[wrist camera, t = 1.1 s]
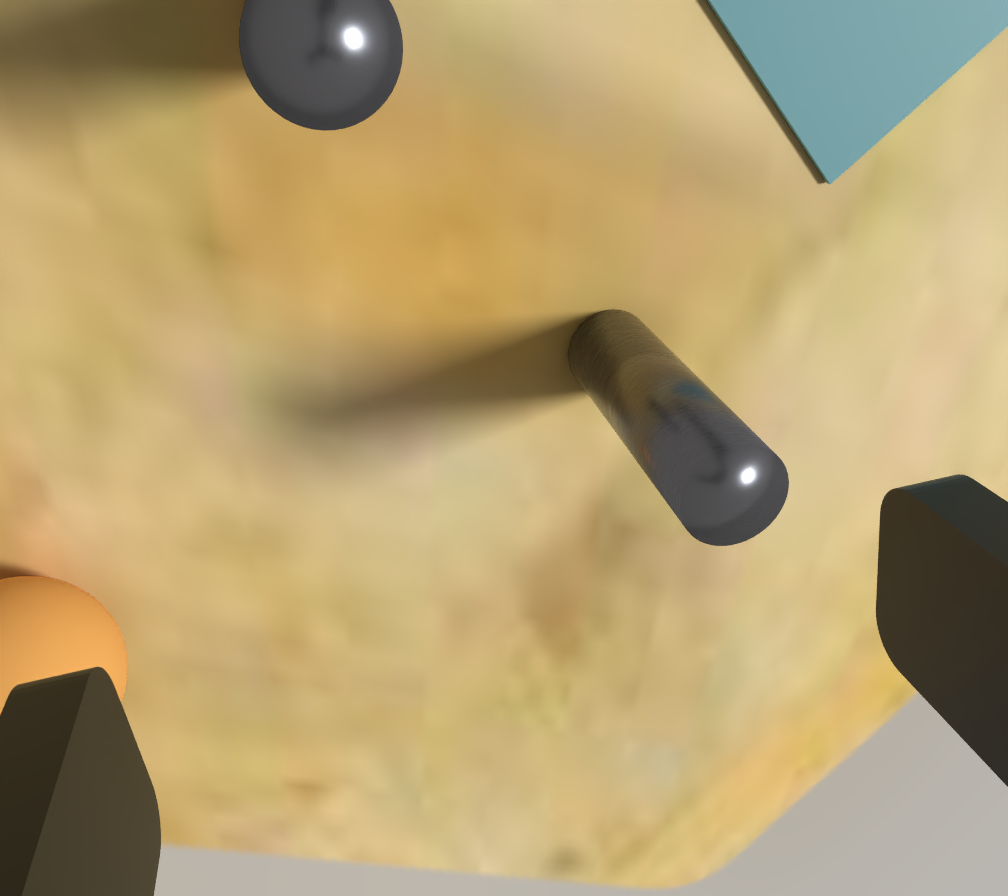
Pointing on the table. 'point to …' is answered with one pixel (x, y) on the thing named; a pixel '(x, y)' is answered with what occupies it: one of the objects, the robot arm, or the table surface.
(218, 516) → the table surface
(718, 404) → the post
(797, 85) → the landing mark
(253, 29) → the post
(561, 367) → the table surface
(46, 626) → the ball
